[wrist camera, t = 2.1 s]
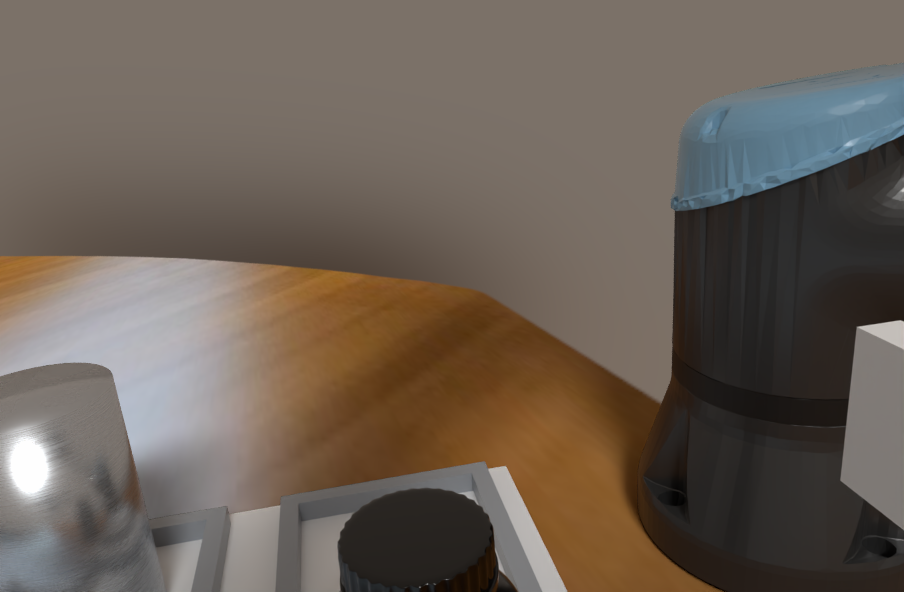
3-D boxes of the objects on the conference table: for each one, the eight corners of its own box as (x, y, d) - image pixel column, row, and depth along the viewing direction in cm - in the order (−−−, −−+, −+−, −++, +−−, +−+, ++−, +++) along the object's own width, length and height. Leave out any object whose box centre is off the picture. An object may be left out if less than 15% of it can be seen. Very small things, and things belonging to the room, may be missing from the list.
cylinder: (109, 556, 40) (53, 354, 36) (197, 595, 36) (146, 375, 32) (-23, 646, 34) (-106, 418, 30) (67, 703, 31) (-15, 453, 27)
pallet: (506, 479, 45) (504, 448, 45) (587, 649, 32) (586, 609, 32) (-12, 571, 41) (-23, 538, 40) (-162, 813, 28) (-182, 771, 27)
